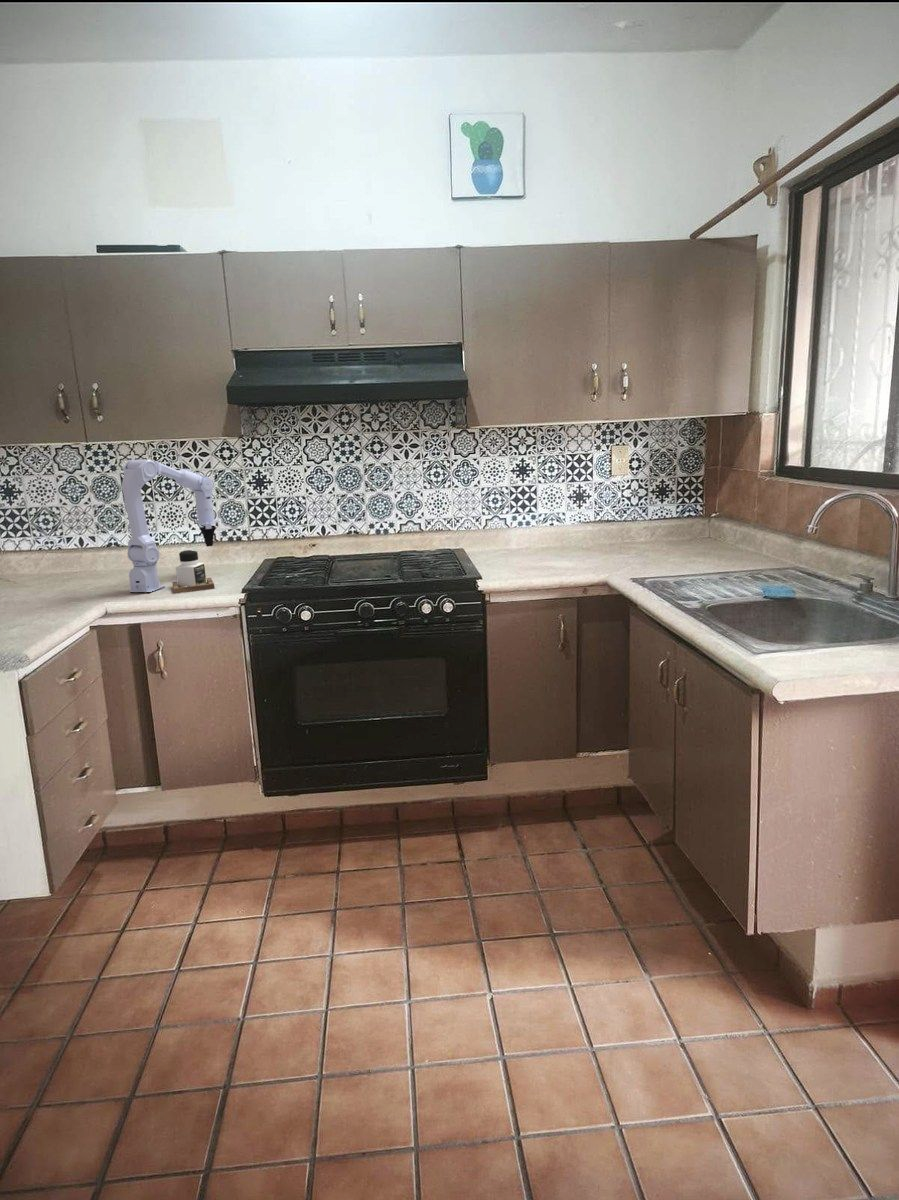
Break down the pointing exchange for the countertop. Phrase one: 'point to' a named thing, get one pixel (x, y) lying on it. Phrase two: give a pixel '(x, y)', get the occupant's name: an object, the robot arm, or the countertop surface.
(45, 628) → the countertop surface
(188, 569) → the medicine bottle
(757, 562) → the countertop surface
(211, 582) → the walnut frame
